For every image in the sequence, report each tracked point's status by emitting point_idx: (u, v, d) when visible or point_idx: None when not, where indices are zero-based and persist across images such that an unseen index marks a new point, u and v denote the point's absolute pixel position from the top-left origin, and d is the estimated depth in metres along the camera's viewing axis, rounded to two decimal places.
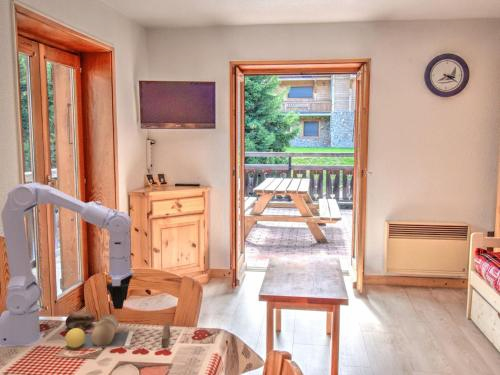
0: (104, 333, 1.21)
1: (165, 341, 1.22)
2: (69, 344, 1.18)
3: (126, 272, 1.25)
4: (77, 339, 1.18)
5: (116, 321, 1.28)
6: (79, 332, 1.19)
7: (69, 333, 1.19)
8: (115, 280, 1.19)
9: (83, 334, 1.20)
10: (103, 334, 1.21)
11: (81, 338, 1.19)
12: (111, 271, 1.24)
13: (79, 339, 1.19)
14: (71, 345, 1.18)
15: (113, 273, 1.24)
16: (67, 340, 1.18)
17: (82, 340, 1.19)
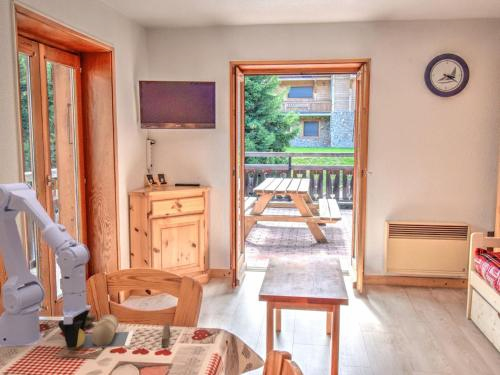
0: (104, 333, 1.21)
1: (165, 341, 1.22)
2: None
3: (80, 308, 1.18)
4: None
5: (116, 321, 1.28)
6: (79, 332, 1.19)
7: None
8: (66, 318, 1.13)
9: (83, 334, 1.20)
10: (103, 334, 1.21)
11: (81, 338, 1.19)
12: (64, 307, 1.17)
13: (79, 339, 1.19)
14: None
15: (66, 309, 1.17)
16: None
17: (82, 340, 1.19)
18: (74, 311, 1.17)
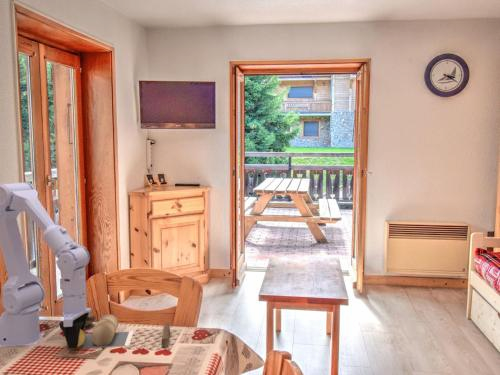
0: (104, 333, 1.21)
1: (165, 341, 1.22)
2: None
3: (80, 310, 1.18)
4: None
5: (116, 321, 1.28)
6: None
7: None
8: (66, 321, 1.13)
9: (83, 334, 1.20)
10: (103, 334, 1.21)
11: (81, 338, 1.19)
12: (64, 309, 1.17)
13: (79, 339, 1.19)
14: None
15: (66, 312, 1.17)
16: None
17: (82, 340, 1.19)
18: (74, 313, 1.17)
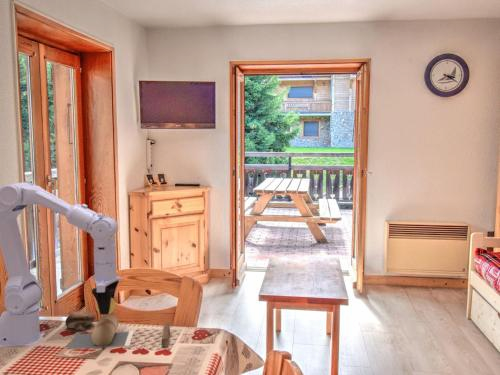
0: (104, 333, 1.21)
1: (165, 341, 1.22)
2: None
3: (111, 278, 1.22)
4: None
5: (116, 321, 1.28)
6: None
7: None
8: (99, 286, 1.16)
9: (114, 301, 1.24)
10: (103, 334, 1.21)
11: (112, 305, 1.23)
12: (96, 277, 1.21)
13: (111, 306, 1.22)
14: None
15: (98, 279, 1.21)
16: None
17: (113, 307, 1.23)
18: (106, 281, 1.21)
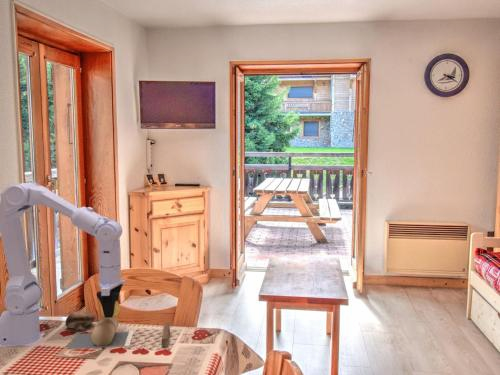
0: (104, 333, 1.21)
1: (165, 341, 1.22)
2: None
3: (116, 281, 1.23)
4: None
5: (116, 321, 1.28)
6: None
7: None
8: (104, 290, 1.17)
9: (118, 304, 1.25)
10: (103, 334, 1.21)
11: (117, 309, 1.24)
12: (101, 280, 1.22)
13: (115, 309, 1.23)
14: None
15: (103, 282, 1.22)
16: None
17: (117, 310, 1.24)
18: (110, 284, 1.22)
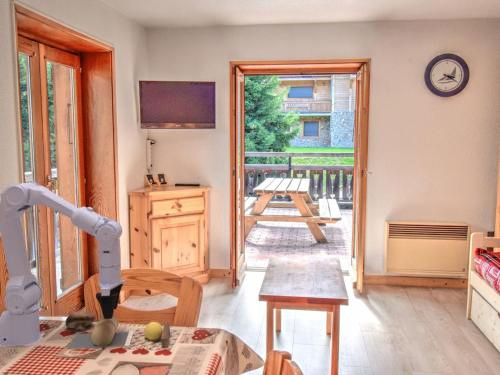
0: (104, 333, 1.21)
1: (165, 341, 1.22)
2: (152, 338, 1.25)
3: (116, 281, 1.23)
4: (154, 330, 1.24)
5: (116, 321, 1.28)
6: (151, 324, 1.25)
7: (145, 331, 1.25)
8: (104, 290, 1.17)
9: (156, 323, 1.26)
10: (103, 334, 1.21)
11: (157, 327, 1.25)
12: (101, 280, 1.22)
13: (156, 329, 1.25)
14: (154, 338, 1.25)
15: (103, 282, 1.22)
16: (148, 337, 1.25)
17: (159, 328, 1.26)
18: (110, 284, 1.22)
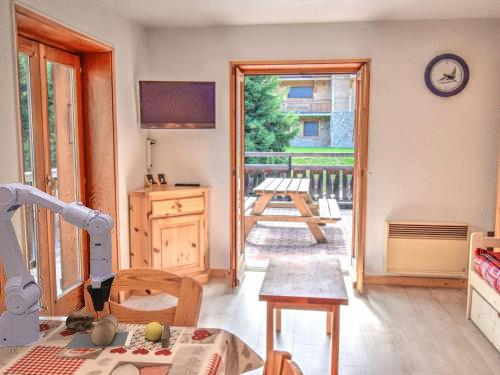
0: (104, 333, 1.21)
1: (165, 341, 1.22)
2: (152, 339, 1.25)
3: (107, 274, 1.23)
4: (154, 331, 1.24)
5: (116, 321, 1.28)
6: (152, 325, 1.25)
7: (145, 332, 1.25)
8: (95, 282, 1.18)
9: (157, 323, 1.26)
10: (103, 334, 1.21)
11: (158, 328, 1.25)
12: (92, 273, 1.23)
13: (156, 330, 1.25)
14: (154, 338, 1.25)
15: (94, 275, 1.22)
16: (148, 337, 1.25)
17: (159, 329, 1.25)
18: (101, 277, 1.22)
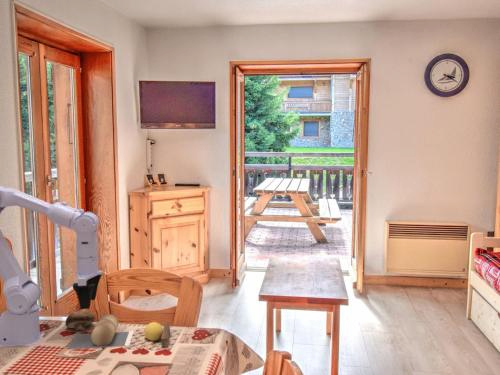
0: (104, 333, 1.21)
1: (165, 341, 1.22)
2: (152, 339, 1.25)
3: (93, 272, 1.25)
4: (154, 332, 1.24)
5: (116, 321, 1.28)
6: (152, 325, 1.25)
7: (145, 332, 1.25)
8: (81, 280, 1.19)
9: (157, 324, 1.26)
10: (103, 334, 1.21)
11: (158, 328, 1.25)
12: (78, 271, 1.24)
13: (156, 330, 1.24)
14: (154, 339, 1.25)
15: (80, 273, 1.24)
16: (148, 338, 1.25)
17: (159, 329, 1.25)
18: (87, 275, 1.24)
